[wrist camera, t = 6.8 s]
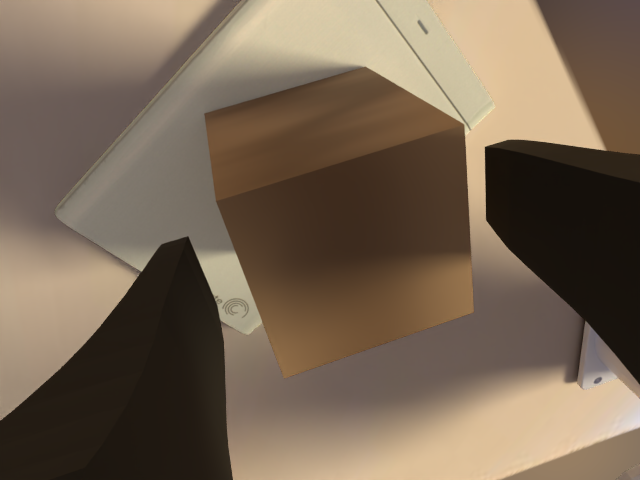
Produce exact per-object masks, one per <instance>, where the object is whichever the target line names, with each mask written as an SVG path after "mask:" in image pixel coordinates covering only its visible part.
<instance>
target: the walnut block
mask: <svg viewBox="0 0 640 480" xmlns="http://www.w3.org/2000/svg"><path fill="white" fill-rule="evenodd" d="M204 116H205V123H206V131H207V138H208V146H209V153H210V161H211V168H212V176H213V183H214V191H215V198H216V203H217V205H218V208H219V211H220V213H221V216H222V218H223V221H224V224H225V226H226V229H227V231H228V234H229V237H230V239H231V242H232V244H233V247H234V250H235V252H236V255H237V257H238V260H239V263H240V265H241V268H242V270H243V273H244V276H245V278H246V281H247V283H248V286H249V289H250V291H251V294H252V296H253V299H254V302H255V304H256V307H257V309H258V312H259V315H260V317H261V320H262V322H263V325H264V328H265V330H266V333H267V335H268V338H269V341H270V343H271V346H272V348H273V351H274V354H275V356H276V359H277V361H278V364H279V367H280V369H281V372H282V374H283V377H284V378H287V377H290V376H293V375H296V374H299V373H302V372H304V371H307V370H310V369H313V368H316V367H319V366H322V365H324V364H327V363H330V362H333V361H336V360H339V359H342V358H345V357H347V356H350V355H353V354H356V353H359V352H362V351H365V350H367V349H370V348H373V347H376V346H379V345H382V344H385V343H388V342H390V341H393V340H396V339H399V338H402V337H405V336H408V335H410V334H413V333H416V332H419V331H422V330H425V329H428V328H430V327H433V326H436V325H439V324H442V323H445V322H448V321H451V320H453V319H456V318H459V317H462V316H465V315H468V314H471V313H473V312H474V305H473V285H472V265H471V245H470V225H469V205H468V185H467V165H466V145H465V125H464V124H463V123H461V122H460V121H458V120H456V119H455V118H453V117H451V116H449V115H448V114H446V113H444V112H443V111H441V110H439V109H437V108H436V107H434V106H432V105H431V104H429V103H427V102H426V101H424V100H422V99H420V98H419V97H417V96H415V95H414V94H412V93H410V92H408V91H407V90H405V89H403V88H402V87H400V86H398V85H396V84H395V83H393V82H391V81H390V80H388V79H386V78H385V77H383V76H381V75H379V74H378V73H376V72H374V71H373V70H371V69H369V68H367V67H362V68H359V69H355V70H352V71H348V72H345V73H342V74H338V75H335V76H331V77H328V78H324V79H321V80H318V81H314V82H311V83H307V84H304V85H300V86H297V87H294V88H290V89H287V90H283V91H280V92H276V93H273V94H269V95H266V96H263V97H259V98H256V99H252V100H249V101H245V102H242V103H239V104H235V105H232V106H228V107H225V108H221V109H218V110H215V111H211V112H208V113H204Z"/></svg>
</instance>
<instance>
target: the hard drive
mask: <svg viewBox="0 0 640 480" xmlns="http://www.w3.org/2000/svg"><path fill="white" fill-rule="evenodd" d="M362 67H367V68H369V69H371V70H373V71H374V72H376V73H378V74H379V75H381V76H383V77H385V78H386V79H388V80H390V81H391V82H393V83H395V84H396V85H398V86H400V87H402V88H403V89H405V90H407V91H408V92H410V93H412V94H414V95H415V96H417V97H419V98H420V99H422V100H424V101H426V102H427V103H429V104H431V105H432V106H434V107H436V108H437V109H439V110H441V111H443V112H444V113H446V114H448V115H449V116H451V117H453V118H455V119H456V120H458V121H460V122H461V123H463V124H464V125H465V136H466V135H467V134H468V133H469V132H470V130H471V129H473V128H474V127H475V126H476V125H477V124H478V123H479V122H480V121H481V120H483V119H484V118H485V117H486V116H487V115H488V114H489V113H490V112H491V111H492V110H493V109H494V108H495V104H494V102H493V100H492V98H491V96H490V95H489V93H488V92H487V90H486V89H485V87H484V86H483V84H482V83H481V81H480V79H479V78H478V76H477V75H476V73H475V72H474V70H473V69H472V67H471V66H470V64H469V63H468V61H467V60H466V58H465V57H464V55H463V54H462V52H461V51H460V49H459V48H458V46H457V45H456V43H455V42H454V40H453V39H452V37H451V36H450V34H449V33H448V31H447V30H446V28H445V27H444V25H443V24H442V22H441V21H440V19H439V18H438V16H437V15H436V13H435V11H434V10H433V8H432V7H431V6H430V4H429V3H428V1H427V0H241V1H240V2H239V3H238V4H237V5H236V7H235V8H234V9H233V10H232V11H231V12H230V13H229V14H228V15H227V16H226V18H225V19H224V20H223V21H222V22H221V23H220V24H219V25H218V27H217V28H216V29H215V30H214V31H213V32H212V33H211V34H210V35H209V37H208V38H207V39H206V40H205V41H204V42H203V43H202V44H201V45H200V47H199V48H198V49H197V50H196V51H195V52H194V53H193V54H192V55H191V57H190V58H189V59H188V60H187V61H186V62H185V63H184V64H183V66H182V67H181V68H180V69H179V70H178V71H177V72H176V73H175V75H174V76H173V77H172V78H171V79H170V80H169V81H168V82H167V84H166V85H165V86H164V87H163V88H162V89H161V90H160V91H159V92H158V94H157V95H156V96H155V97H154V98H153V99H152V100H151V101H150V102H149V104H148V105H147V106H146V107H145V108H144V109H143V110H142V111H141V112H140V114H139V115H138V116H137V117H136V118H135V119H134V120H133V121H132V122H131V124H130V125H129V126H128V127H127V128H126V129H125V130H124V131H123V132H122V134H121V135H120V136H119V137H118V138H117V139H116V140H115V141H114V142H113V144H112V145H111V146H110V147H109V148H108V149H107V150H106V151H105V153H104V154H103V155H102V156H101V157H100V158H99V159H98V160H97V161H96V163H95V164H94V165H93V166H92V167H91V168H90V169H89V170H88V172H87V173H86V174H85V175H84V176H83V177H82V178H81V179H80V180H79V182H78V183H77V184H76V185H75V186H74V187H73V188H72V189H71V190H70V192H69V193H68V194H67V195H66V196H65V197H64V198H63V199H62V201H61V202H60V203H59V204H58V206H57V207H56V209H55V216H56V217H57V218H58V219H59V220H60V221H61V222H62V223H64V224H65V225H67V226H68V227H70V228H71V229H72V230H74V231H76V232H77V233H79V234H81V235H82V236H84V237H85V238H87V239H89V240H90V241H92V242H93V243H95V244H97V245H98V246H100V247H102V248H103V249H105V250H106V251H108V252H109V253H111V254H113V255H114V256H116V257H118V258H119V259H121V260H122V261H124V262H126V263H127V264H129V265H131V266H133V267H134V268H136V269H137V270H139V271H140V272H142V271H143V269H144V268H145V266H146V265H147V263H148V262H149V260H150V259H151V257H152V256H153V255H154V253H155V252H156V250H157V249H158V248H159V247H160V245H161V244H164V243H167V242H170V241H174V240H177V239H180V238H183V237H187V236H188V237H189V239H190V241H191V244H192V246H193V248H194V251H195V253H196V256H197V258H198V260H199V263H200V265H201V267H202V270H203V272H204V275H205V277H206V279H207V282H208V284H209V286H210V289H211V291H212V294H213V296H214V298H215V301H216V303H217V306H218V311H219V317H220V321H222V322H224V323H225V324H227V325H228V326H230V327H232V328H233V329H235V330H237V331H238V332H240V333H242V334H245V335H249V334H250V333H251V332H253V331H254V330H255V329H256V328H257V327H258V326H259V325H260V324H261V323H262V320H261V317H260V315H259V312H258V309H257V307H256V304H255V302H254V299H253V296H252V294H251V291H250V289H249V286H248V283H247V281H246V278H245V276H244V273H243V270H242V268H241V265H240V263H239V260H238V257H237V255H236V252H235V250H234V247H233V244H232V242H231V239H230V237H229V234H228V231H227V229H226V226H225V224H224V221H223V218H222V216H221V213H220V211H219V208H218V205H217V203H216V198H215V191H214V183H213V176H212V168H211V161H210V153H209V146H208V138H207V131H206V123H205V116H204V113H208V112H211V111H215V110H218V109H221V108H225V107H228V106H232V105H235V104H239V103H242V102H245V101H249V100H252V99H256V98H259V97H263V96H266V95H269V94H273V93H276V92H280V91H283V90H287V89H290V88H294V87H297V86H300V85H304V84H307V83H311V82H314V81H318V80H321V79H324V78H328V77H331V76H335V75H338V74H342V73H345V72H348V71H352V70H355V69H359V68H362Z"/></svg>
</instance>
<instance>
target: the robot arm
mask: <svg viewBox="0 0 640 480" xmlns="http://www.w3.org/2000/svg"><path fill="white" fill-rule="evenodd" d="M485 180H486V221H487V222H488V223H489V225H490V226H491V227H492V229H493V230H494V231H495V233H496V234H497V235H498V236H499V238H500V239H501V240H502V241H503V243H504V244H505V245H506V246H507V247H508V249H509V250H510V251H511V252H512V253H514V254H515V255H516V256H517V257H518V258H519V259H520V260H521V261H522V262H523V263H524V264H525V265H526V266H527V267H528V268H529V269H531V270H532V271H533V272H534V273H535V274H536V275H537V276H538V277H539V278H540V279H541V280H543V281H544V282H545V283H546V284H547V285H548V286H549V287H550V288H551V289H552V290H554V291H555V292H556V293H557V294H558V295H559V296H560V297H561V298H562V299H563V300H564V301H566V302H567V303H568V304H569V305H570V306H571V307H572V308H573V309H574V310H575V311H576V312H577V313H578V314H579V315H580V316H581V317H582V318H583V319H584V320H585V328H584V335H583V343H582V350H581V358H580V365H579V372H578V380H577V384H578V385H579V386H580V387H581V388H582V389H590V388H593V387H595V386H598V385H601V384H604V383H606V382H609V381H612V380H615V379H617V378H619V379H620V380H621V381H622V382H623V383H624V384H625V385H626V386H627V387H628V388H629V389H630V390H631V391H632V392H633V393H634V394H636V395H637V396H638V397H639V398H640V155H637V154H628V153H619V152H611V151H603V150H596V149H589V148H582V147H575V146H568V145H561V144H553V143H546V142H538V141H528V140H506V141H503V142H500V143H496V144H493V145H490V146H486V147H485ZM0 480H233V477H232V470H231V463H230V456H229V449H228V438H227V423H226V390H225V360H224V340H223V334H222V328H221V322H220V317H219V311H218V306H217V303H216V301H215V298H214V296H213V294H212V291H211V289H210V286H209V284H208V282H207V279H206V277H205V275H204V272H203V270H202V267H201V265H200V263H199V260H198V258H197V256H196V253H195V251H194V248H193V246H192V244H191V241H190V239H189V237H188V236H187V237H183V238H180V239H177V240H174V241H170V242H167V243H164V244H161V245H160V247H159V248H158V249H157V250H156V252H155V253H154V255H153V256H152V257H151V259H150V260H149V262H148V263H147V265H146V266H145V268H144V269H143V271H142V272H141V273H140V275H139V276H138V278H137V279H136V280H135V282H134V283H133V285H132V286H131V288H130V289H129V290H128V292H127V293H126V295H125V296H124V297H123V298H122V300H121V301H120V302H119V303H118V305H117V306H116V307H115V308H114V310H113V311H112V312H111V314H110V315H109V316H108V317H107V319H106V320H105V321H104V322H103V324H102V325H101V326H100V327H99V328H98V330H97V331H96V332H95V333H94V334H93V335H92V336H91V338H90V339H89V340H88V341H87V342H86V343H85V344H84V345H83V346H82V347H81V348H80V349H79V350H78V351H77V352H76V353H75V354H74V355H73V357H72V358H71V359H70V360H69V361H68V362H67V363H66V364H65V365H64V366H63V367H62V368H61V369H60V370H58V371H57V372H56V373H55V374H54V375H53V376H52V377H51V378H50V379H48V380H47V381H46V382H45V383H44V384H43V385H42V386H41V387H39V388H38V389H37V390H36V391H35V392H34V393H33V394H32V395H30V396H29V397H28V398H27V399H26V400H25V401H24V402H23V403H21V404H20V405H19V406H18V407H17V408H16V409H14V410H13V411H12V412H11V413H10V414H8V415H7V416H6V417H4V418H3V419H2V420H1V421H0ZM616 480H640V464H638V465H636V466H634V467H632V468H630V469H628V470H627V471H625V472H624V473H623V474H622V475H620V476H619V477H618V478H617V479H616Z"/></svg>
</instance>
